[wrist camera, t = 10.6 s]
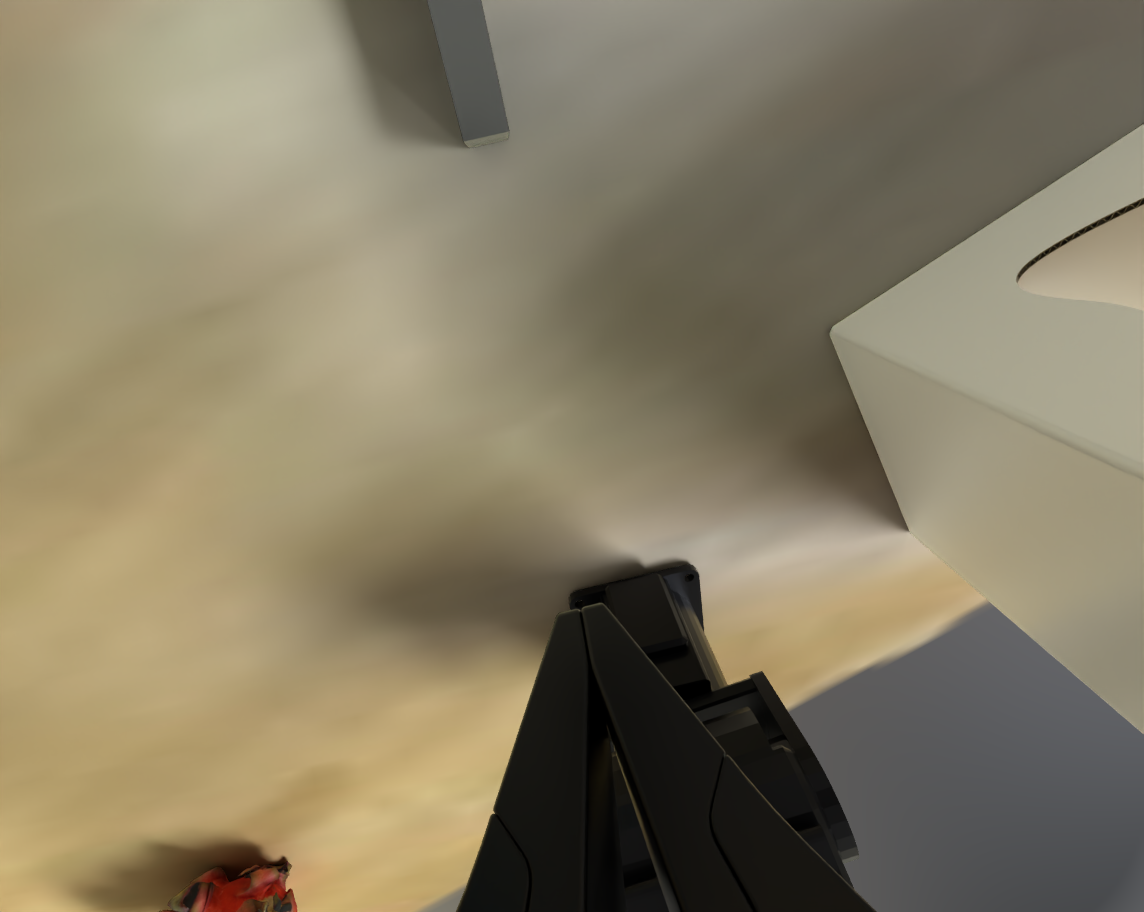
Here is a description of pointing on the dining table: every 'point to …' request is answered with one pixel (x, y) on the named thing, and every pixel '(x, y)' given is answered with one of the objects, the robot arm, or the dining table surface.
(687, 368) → the dining table surface
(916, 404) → the gable box
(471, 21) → the gear seat
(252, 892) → the dragon fruit
